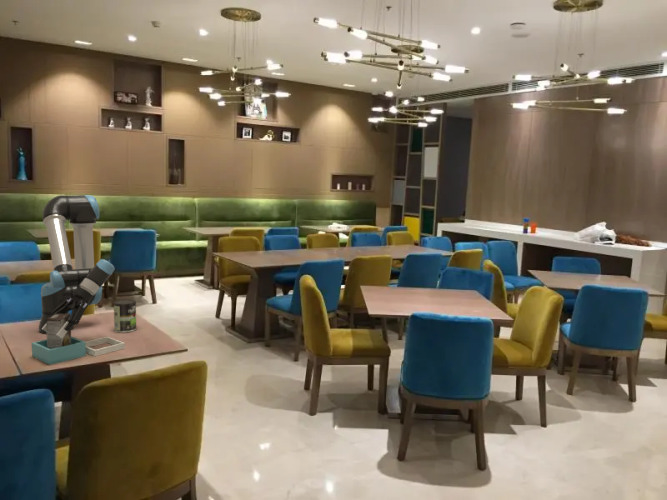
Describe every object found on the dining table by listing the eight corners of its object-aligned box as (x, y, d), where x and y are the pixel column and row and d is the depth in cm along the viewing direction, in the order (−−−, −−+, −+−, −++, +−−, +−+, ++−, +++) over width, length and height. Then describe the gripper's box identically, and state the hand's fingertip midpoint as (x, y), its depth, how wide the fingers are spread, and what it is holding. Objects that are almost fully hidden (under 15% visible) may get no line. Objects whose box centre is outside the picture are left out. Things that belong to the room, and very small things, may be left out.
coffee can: (140, 327, 277) (140, 299, 275) (129, 333, 267) (128, 304, 265) (122, 325, 279) (121, 298, 277) (109, 331, 269) (108, 303, 267)
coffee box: (56, 350, 238) (55, 313, 235) (72, 350, 238) (70, 313, 236) (46, 357, 229) (45, 318, 226) (63, 357, 229) (61, 319, 227)
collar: (77, 349, 243) (77, 343, 242) (107, 341, 254) (107, 336, 253) (94, 356, 234) (94, 350, 234) (124, 348, 245) (124, 342, 245)
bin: (32, 356, 232) (31, 342, 231) (67, 347, 244) (67, 334, 243) (49, 364, 223) (49, 350, 222) (85, 355, 235) (85, 341, 234)
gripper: (107, 300, 235) (73, 344, 225) (77, 292, 249) (44, 332, 240) (94, 290, 230) (59, 334, 220) (65, 282, 244) (31, 323, 235)
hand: (51, 333), depth 230 cm, fingers open, 12 cm apart
